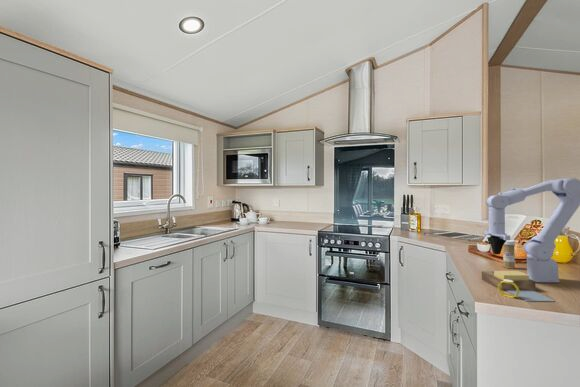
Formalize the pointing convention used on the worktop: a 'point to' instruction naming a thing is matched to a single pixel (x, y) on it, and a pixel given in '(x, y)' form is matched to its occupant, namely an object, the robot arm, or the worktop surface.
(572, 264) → the worktop surface
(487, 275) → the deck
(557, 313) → the worktop surface
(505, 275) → the yellow butter block
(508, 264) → the sprinkles bottle
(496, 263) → the worktop surface
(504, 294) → the watch
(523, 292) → the mat
